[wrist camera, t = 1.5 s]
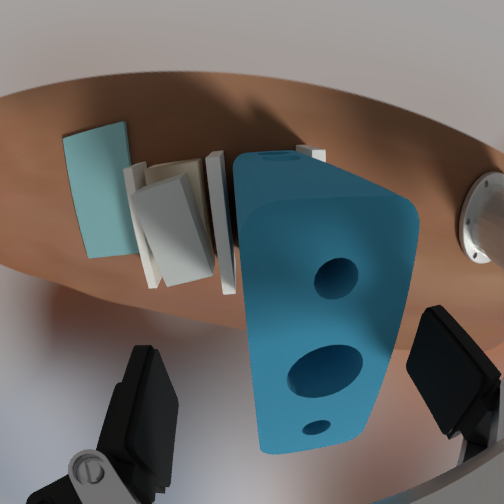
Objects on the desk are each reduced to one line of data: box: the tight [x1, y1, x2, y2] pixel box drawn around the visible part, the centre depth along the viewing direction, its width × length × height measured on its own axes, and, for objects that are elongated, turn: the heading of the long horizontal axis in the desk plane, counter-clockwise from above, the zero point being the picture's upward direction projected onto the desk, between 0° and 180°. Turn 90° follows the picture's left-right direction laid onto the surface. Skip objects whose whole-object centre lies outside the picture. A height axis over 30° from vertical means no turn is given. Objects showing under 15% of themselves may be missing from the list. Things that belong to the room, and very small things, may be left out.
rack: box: [123, 145, 326, 295], centre depth 25 cm, size 16×11×6 cm
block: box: [233, 150, 419, 454], centre depth 18 cm, size 12×5×20 cm, turn 4°
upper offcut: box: [130, 172, 215, 287], centre depth 23 cm, size 4×8×3 cm, turn 15°
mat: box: [63, 121, 140, 258], centre depth 26 cm, size 7×13×1 cm, turn 5°
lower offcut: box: [144, 158, 215, 257], centre depth 26 cm, size 4×10×4 cm, turn 5°
